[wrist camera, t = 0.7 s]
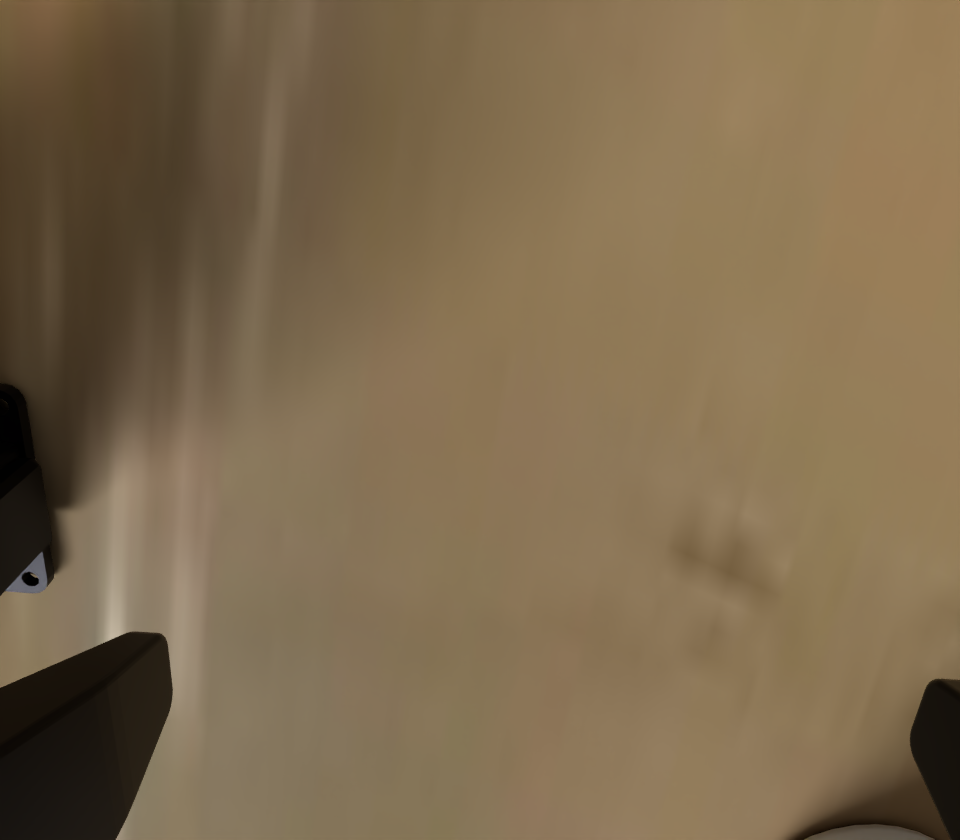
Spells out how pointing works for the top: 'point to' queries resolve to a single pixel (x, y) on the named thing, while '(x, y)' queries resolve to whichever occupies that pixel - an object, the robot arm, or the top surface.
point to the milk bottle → (870, 833)
